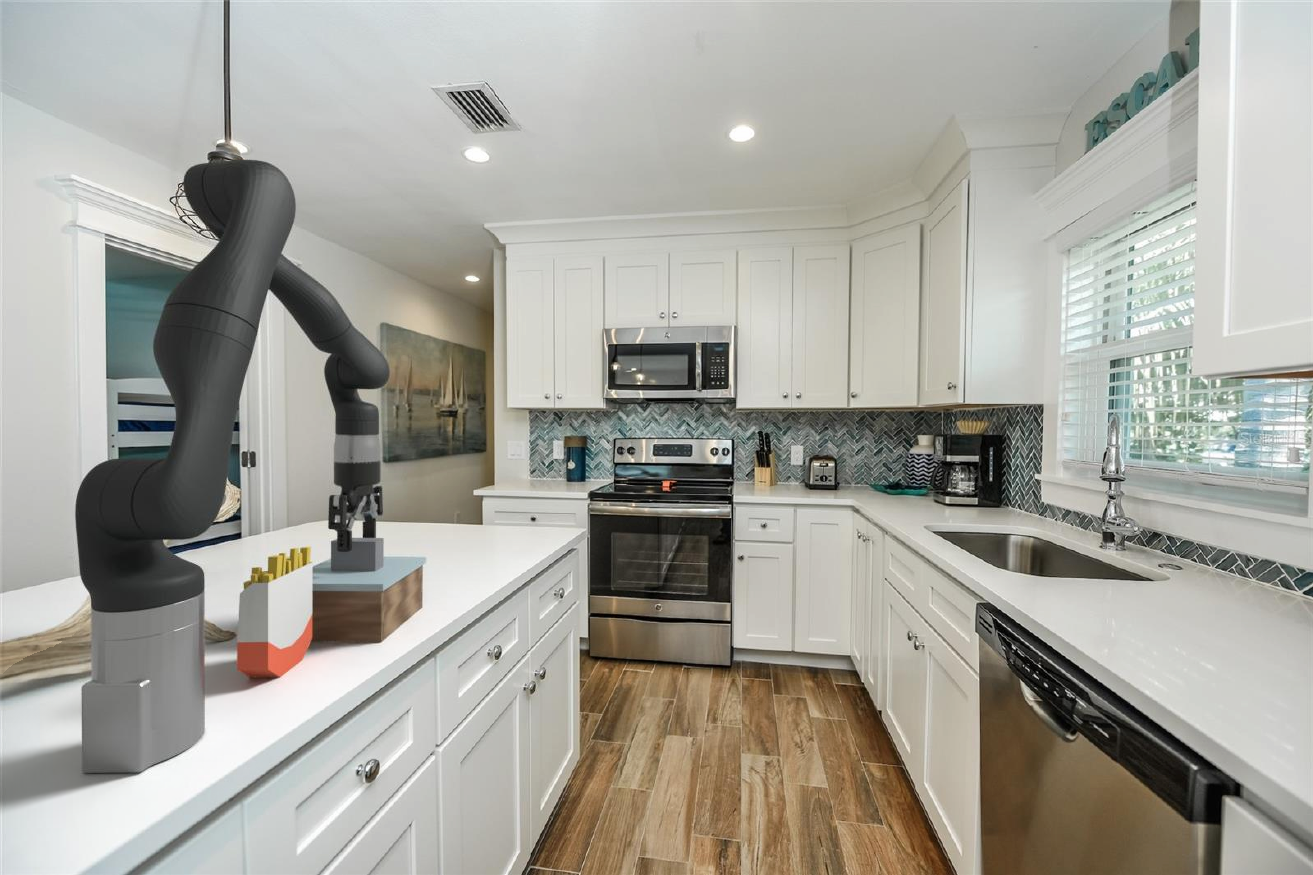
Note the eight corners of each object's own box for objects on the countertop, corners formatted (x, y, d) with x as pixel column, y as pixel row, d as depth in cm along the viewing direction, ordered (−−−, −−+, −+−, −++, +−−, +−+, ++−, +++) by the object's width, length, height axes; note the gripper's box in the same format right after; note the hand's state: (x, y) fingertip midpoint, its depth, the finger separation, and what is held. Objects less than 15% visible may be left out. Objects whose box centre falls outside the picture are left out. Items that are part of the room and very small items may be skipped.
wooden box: (381, 642, 88) (381, 590, 88) (279, 642, 87) (279, 589, 87) (422, 607, 105) (422, 563, 105) (337, 606, 104) (337, 562, 104)
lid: (382, 597, 87) (383, 552, 87) (274, 596, 87) (274, 551, 86) (426, 567, 105) (426, 530, 105) (336, 566, 105) (336, 529, 104)
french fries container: (234, 687, 73) (234, 560, 72) (282, 653, 83) (283, 542, 83) (268, 686, 73) (268, 560, 72) (312, 652, 84) (313, 542, 83)
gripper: (357, 462, 88) (357, 556, 89) (396, 456, 103) (395, 537, 103) (312, 461, 88) (313, 555, 89) (357, 456, 102) (357, 536, 103)
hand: (357, 545), depth 96 cm, fingers open, 8 cm apart
